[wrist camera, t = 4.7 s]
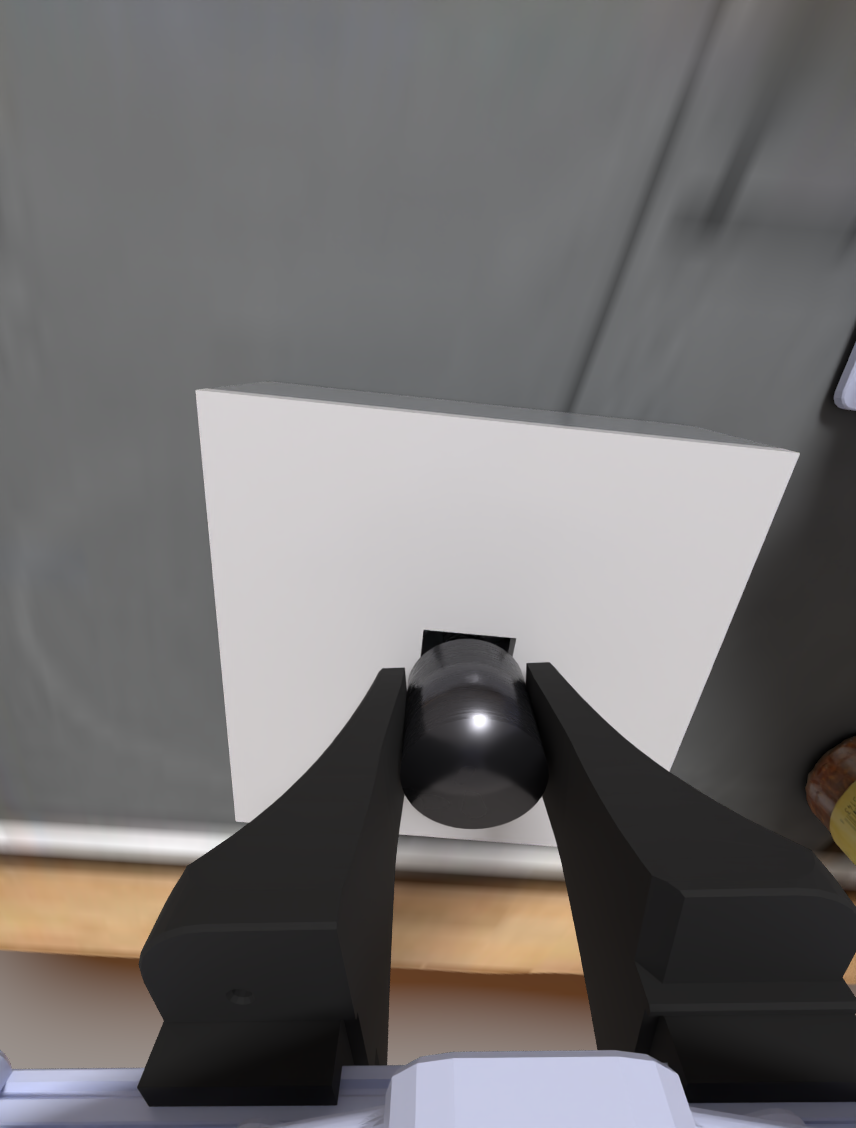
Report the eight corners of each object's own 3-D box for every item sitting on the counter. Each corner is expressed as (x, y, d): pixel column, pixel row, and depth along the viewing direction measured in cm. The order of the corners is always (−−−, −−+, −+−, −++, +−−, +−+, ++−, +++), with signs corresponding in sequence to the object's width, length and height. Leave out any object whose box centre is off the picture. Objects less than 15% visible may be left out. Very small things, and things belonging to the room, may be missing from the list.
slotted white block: (691, 425, 16) (799, 452, 11) (591, 746, 21) (635, 852, 17) (267, 381, 15) (195, 390, 11) (279, 719, 21) (235, 821, 16)
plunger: (645, 471, 15) (834, 570, 8) (571, 730, 20) (651, 946, 12) (308, 437, 15) (190, 508, 8) (309, 708, 19) (234, 916, 12)
